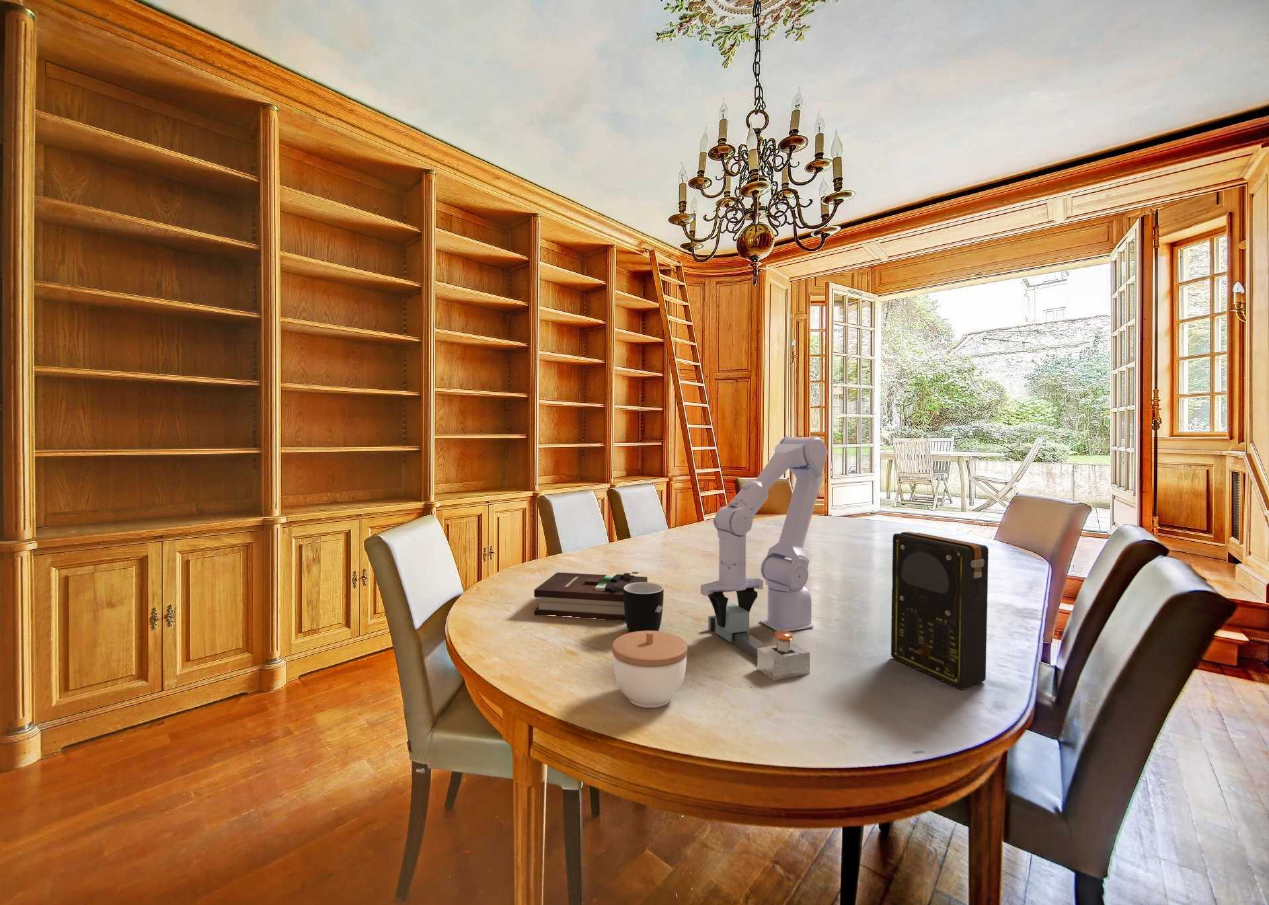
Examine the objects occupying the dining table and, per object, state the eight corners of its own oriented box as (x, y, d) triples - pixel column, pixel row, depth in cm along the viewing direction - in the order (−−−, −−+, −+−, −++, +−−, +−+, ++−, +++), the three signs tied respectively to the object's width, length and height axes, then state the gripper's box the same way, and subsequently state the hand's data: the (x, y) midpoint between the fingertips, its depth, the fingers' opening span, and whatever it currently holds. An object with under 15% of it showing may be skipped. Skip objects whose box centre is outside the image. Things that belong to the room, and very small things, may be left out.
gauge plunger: (785, 656, 101) (785, 629, 101) (795, 662, 98) (796, 635, 98) (771, 658, 100) (771, 631, 100) (781, 665, 97) (781, 638, 97)
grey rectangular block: (792, 662, 103) (792, 642, 103) (809, 673, 99) (809, 652, 98) (757, 669, 100) (757, 648, 100) (773, 680, 96) (773, 658, 96)
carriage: (734, 629, 120) (734, 603, 120) (749, 638, 114) (749, 612, 114) (715, 632, 118) (715, 606, 118) (729, 642, 113) (729, 614, 112)
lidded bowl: (611, 681, 96) (611, 620, 95) (680, 679, 96) (681, 618, 96) (613, 718, 83) (613, 648, 83) (693, 715, 84) (693, 646, 84)
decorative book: (550, 567, 149) (656, 573, 143) (550, 594, 149) (656, 601, 143) (522, 587, 130) (644, 594, 124) (523, 618, 130) (644, 626, 124)
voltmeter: (885, 658, 105) (886, 532, 105) (916, 651, 109) (918, 529, 108) (960, 693, 91) (963, 547, 90) (993, 684, 94) (996, 543, 94)
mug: (659, 641, 114) (659, 594, 114) (618, 638, 116) (618, 591, 116) (668, 622, 126) (668, 579, 125) (631, 619, 128) (631, 577, 127)
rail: (727, 626, 123) (727, 613, 123) (787, 665, 102) (787, 649, 102) (708, 629, 121) (708, 616, 121) (765, 669, 100) (765, 653, 100)
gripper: (712, 569, 109) (711, 635, 110) (771, 563, 115) (771, 625, 115) (695, 561, 116) (695, 623, 116) (752, 556, 121) (752, 615, 122)
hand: (732, 624), depth 116 cm, fingers closed on carriage, 5 cm apart
